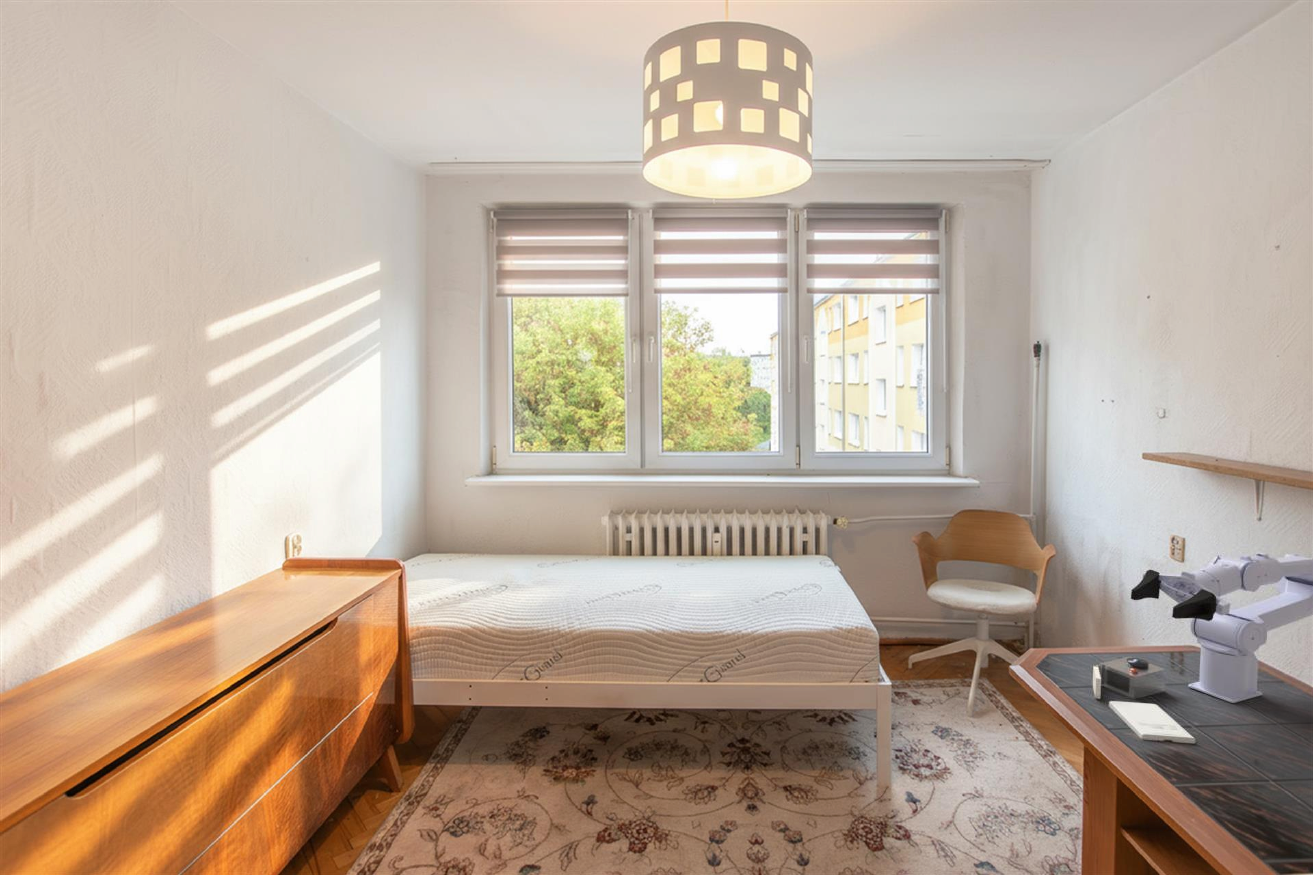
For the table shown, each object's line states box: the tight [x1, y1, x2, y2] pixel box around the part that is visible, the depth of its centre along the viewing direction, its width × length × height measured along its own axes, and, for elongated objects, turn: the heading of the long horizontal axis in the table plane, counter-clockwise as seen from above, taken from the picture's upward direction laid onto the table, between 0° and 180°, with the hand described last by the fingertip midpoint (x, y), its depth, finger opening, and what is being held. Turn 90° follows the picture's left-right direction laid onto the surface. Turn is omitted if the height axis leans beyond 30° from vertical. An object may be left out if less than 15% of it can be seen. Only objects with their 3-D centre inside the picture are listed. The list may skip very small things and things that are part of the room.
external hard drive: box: [1108, 700, 1196, 744], centre depth 122 cm, size 2×8×12 cm
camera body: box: [1099, 656, 1167, 700], centre depth 136 cm, size 9×7×6 cm
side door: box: [1092, 664, 1102, 700], centre depth 135 cm, size 1×8×4 cm, turn 151°
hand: (1153, 603), depth 126 cm, fingers open, 7 cm apart
